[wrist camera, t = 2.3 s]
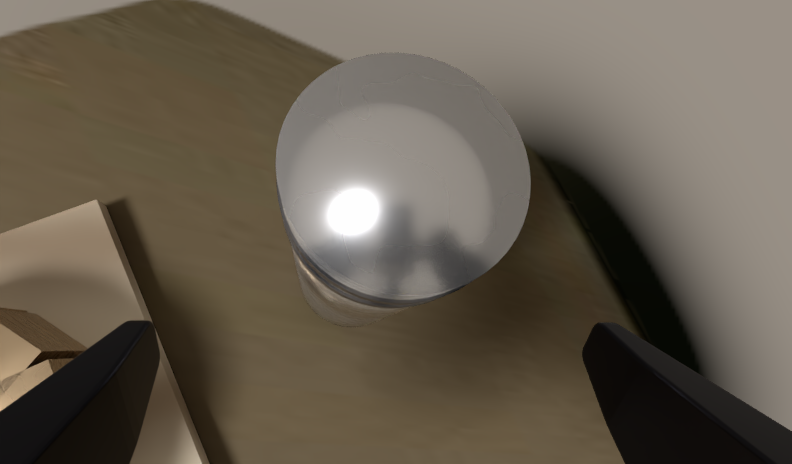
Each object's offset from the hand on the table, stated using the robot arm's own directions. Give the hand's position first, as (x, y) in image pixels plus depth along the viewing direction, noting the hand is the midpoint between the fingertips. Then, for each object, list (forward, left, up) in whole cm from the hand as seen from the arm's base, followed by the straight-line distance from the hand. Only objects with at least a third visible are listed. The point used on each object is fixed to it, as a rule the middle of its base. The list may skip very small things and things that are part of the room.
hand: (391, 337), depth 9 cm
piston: (+3, -1, -10) cm, 10 cm away
